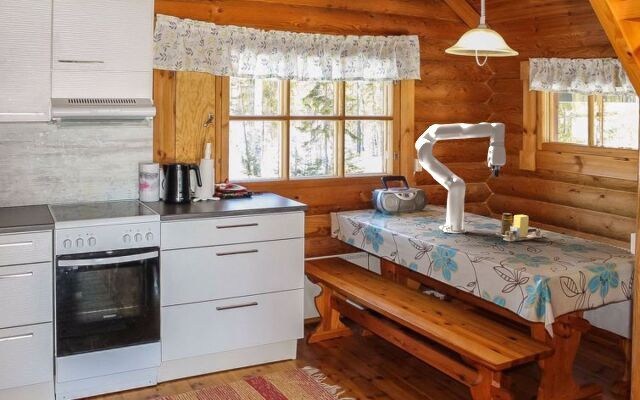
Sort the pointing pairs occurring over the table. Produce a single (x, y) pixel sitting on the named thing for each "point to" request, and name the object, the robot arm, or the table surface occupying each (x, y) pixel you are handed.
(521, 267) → the table surface
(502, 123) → the robot arm
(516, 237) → the grey slab
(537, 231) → the cord rig
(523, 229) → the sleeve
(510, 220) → the condiment
